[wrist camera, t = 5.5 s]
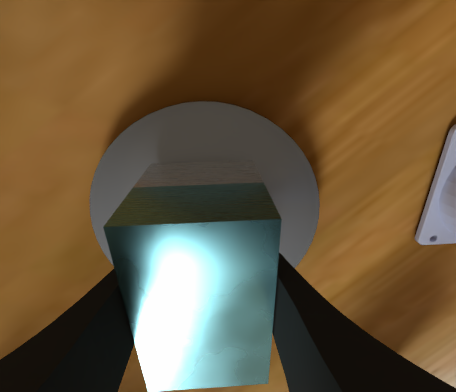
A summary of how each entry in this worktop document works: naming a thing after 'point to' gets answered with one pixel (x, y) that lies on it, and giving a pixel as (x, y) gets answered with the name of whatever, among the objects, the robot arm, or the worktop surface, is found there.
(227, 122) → the slate stand
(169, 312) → the block
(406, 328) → the worktop surface
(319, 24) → the worktop surface
